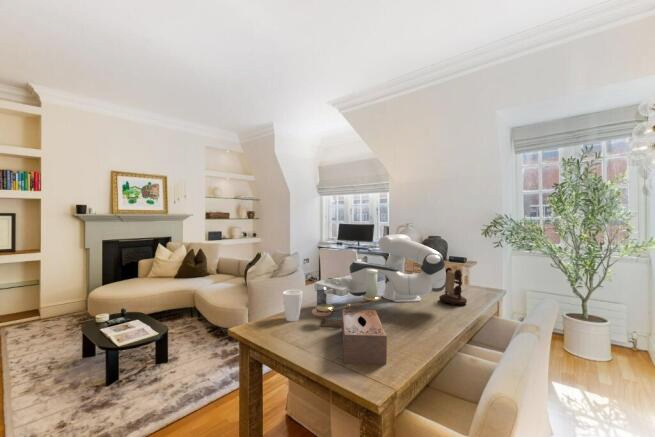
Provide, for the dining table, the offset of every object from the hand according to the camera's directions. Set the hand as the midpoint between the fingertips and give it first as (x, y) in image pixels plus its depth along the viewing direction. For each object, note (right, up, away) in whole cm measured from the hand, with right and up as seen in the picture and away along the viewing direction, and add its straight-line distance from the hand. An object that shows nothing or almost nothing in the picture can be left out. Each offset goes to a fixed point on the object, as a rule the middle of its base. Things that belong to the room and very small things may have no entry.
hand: (320, 291), depth 145 cm
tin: (+1, -10, +1) cm, 10 cm away
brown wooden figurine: (+77, -12, +22) cm, 81 cm away
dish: (+1, -12, +1) cm, 12 cm away
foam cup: (-13, -12, -7) cm, 19 cm away
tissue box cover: (+17, -13, -35) cm, 41 cm away
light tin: (+24, +2, -16) cm, 28 cm away
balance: (+13, -12, -14) cm, 23 cm away
